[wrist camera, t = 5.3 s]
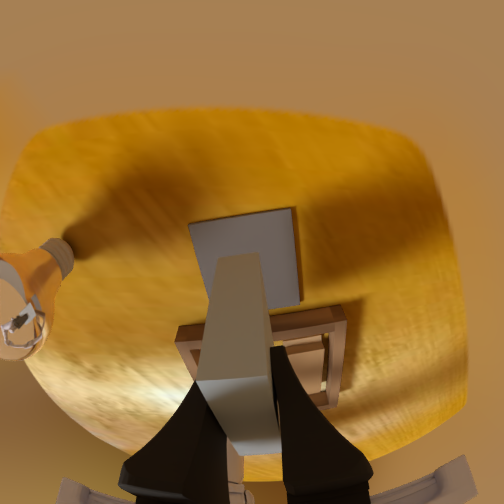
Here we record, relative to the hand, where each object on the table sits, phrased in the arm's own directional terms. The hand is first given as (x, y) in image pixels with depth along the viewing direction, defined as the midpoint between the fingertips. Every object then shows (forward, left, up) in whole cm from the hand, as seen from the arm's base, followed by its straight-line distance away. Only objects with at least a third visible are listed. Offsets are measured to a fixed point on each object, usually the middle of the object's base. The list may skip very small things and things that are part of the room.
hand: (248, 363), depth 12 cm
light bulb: (+4, +15, -9) cm, 18 cm away
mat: (0, 0, -9) cm, 9 cm away
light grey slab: (0, 0, -5) cm, 5 cm away
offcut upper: (-12, -3, -9) cm, 16 cm away
